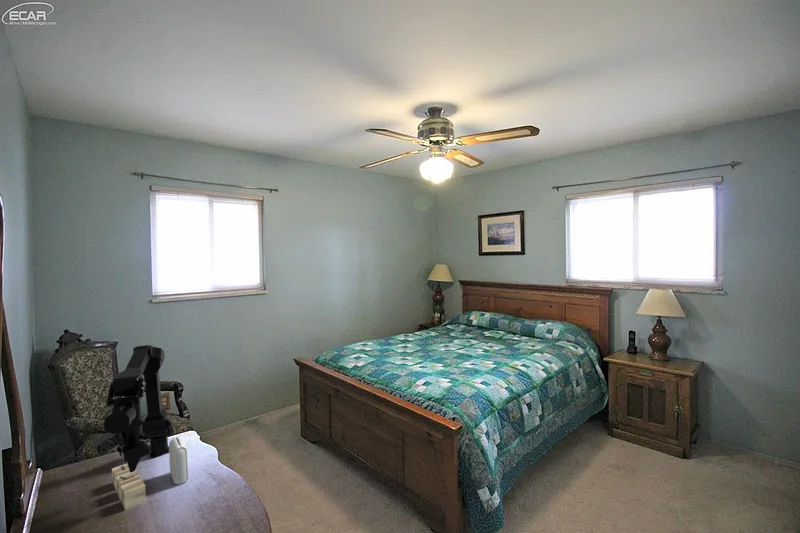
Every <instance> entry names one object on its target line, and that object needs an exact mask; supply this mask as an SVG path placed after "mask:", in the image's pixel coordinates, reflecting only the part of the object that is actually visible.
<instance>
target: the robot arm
mask: <svg viewBox="0 0 800 533" xmlns="http://www.w3.org/2000/svg"><path fill="white" fill-rule="evenodd" d="M165 358H166V357H165V351H164V349H162V348H161V347H156V346H154V345H151V344H144V345H136V346H135V347H133V349H132V354H131V357H130V359H129V361H128V363H127V365H126V366H125V369H124V370H123V371H120V372H118V373H117V374H116V375H115V376H114V378H113V380H112V381H111V382H110V384H109V388H108V395H107V398H106V399H107V400H106V407H112V409H111V412H110V413H109V414H108V415H107V417H105V419H104V421H103V427H104V430H105V431H106V432H107V433H105V434H103V435H102V436H100V437H98V438H96V439H95V440H93V441H92V442H91V445H92V447H93V449H94V450H95V452H96V453H97V455H98V456H100V457H101V456H103V455H105V454H106V453H107V452H109V451H110V450H112V449H113V448H115V447H116V451H117V452H118V454H119V456H120V457H121V459H122V460H123V462H124V463H126V464H127V465H128V468H129V471H130V472H134V471H135V470H137V466H138V465H139V463H140V460H141V458H143V457H145V456H148V457H149V458H150V459H152V458H156V457H159V456H162V455H165V454H169V441H168V440H169V438H168V437H171V435H173V434H174V431H175V430H174V424H173V422H172V421H171V419H170V418H169V412H168V411H166V410H165V409H164V408H163V405H162V404H163V403H162V392H161V383H160V382H161V380H160V369H161V367H162V366H163V364H164V361H165ZM144 396H145V400H146V401H145V403H146V411H147V412H146V413H147V414H146V415H145V417H144V419H142V407H141V406H142V405H141V403H142V402H141V400H142V399H143V398H144ZM142 439H143V440H142ZM146 440H148V442H147V441H146ZM117 446H118V447H117Z"/></svg>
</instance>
